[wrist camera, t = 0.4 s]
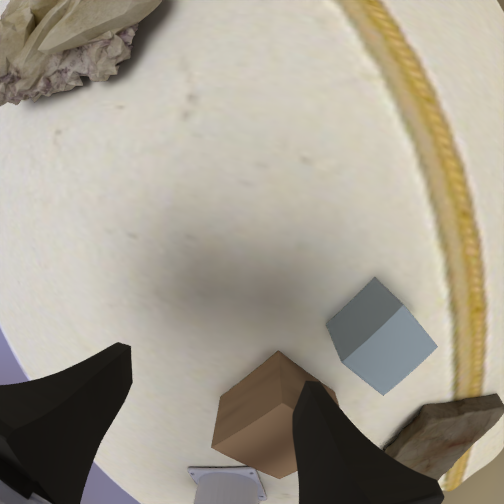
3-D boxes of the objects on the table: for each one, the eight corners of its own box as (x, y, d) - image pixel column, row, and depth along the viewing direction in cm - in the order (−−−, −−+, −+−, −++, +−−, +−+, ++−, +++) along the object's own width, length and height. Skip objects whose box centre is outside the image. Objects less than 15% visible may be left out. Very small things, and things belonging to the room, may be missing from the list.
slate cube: (408, 315, 20) (437, 346, 15) (363, 357, 21) (383, 395, 16) (374, 276, 20) (403, 304, 15) (325, 323, 21) (341, 362, 16)
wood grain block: (334, 391, 22) (349, 441, 17) (277, 430, 24) (279, 478, 18) (278, 349, 21) (282, 402, 16) (220, 396, 23) (211, 447, 17)
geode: (204, 39, 20) (112, -28, 15) (237, -30, 11) (116, -90, 6) (51, 169, 17) (-22, 77, 12) (-2, 140, 9) (-64, 34, 4)
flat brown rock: (497, 390, 23) (512, 408, 19) (441, 461, 27) (450, 479, 23) (411, 397, 23) (426, 425, 19) (352, 475, 27) (358, 499, 23)
